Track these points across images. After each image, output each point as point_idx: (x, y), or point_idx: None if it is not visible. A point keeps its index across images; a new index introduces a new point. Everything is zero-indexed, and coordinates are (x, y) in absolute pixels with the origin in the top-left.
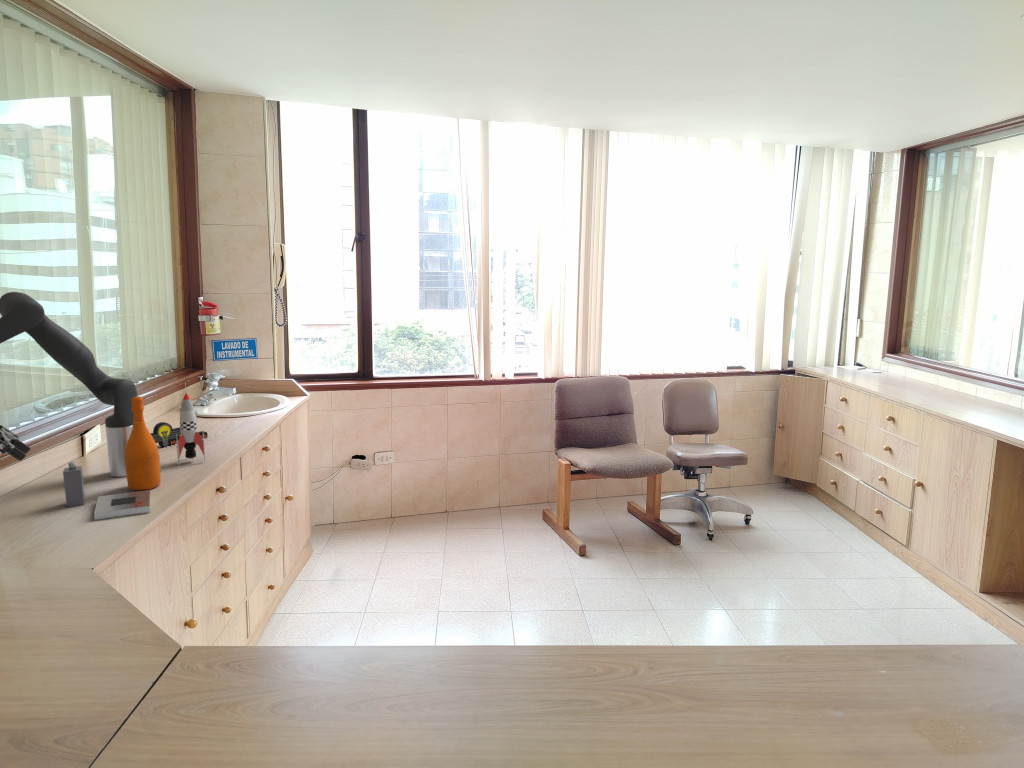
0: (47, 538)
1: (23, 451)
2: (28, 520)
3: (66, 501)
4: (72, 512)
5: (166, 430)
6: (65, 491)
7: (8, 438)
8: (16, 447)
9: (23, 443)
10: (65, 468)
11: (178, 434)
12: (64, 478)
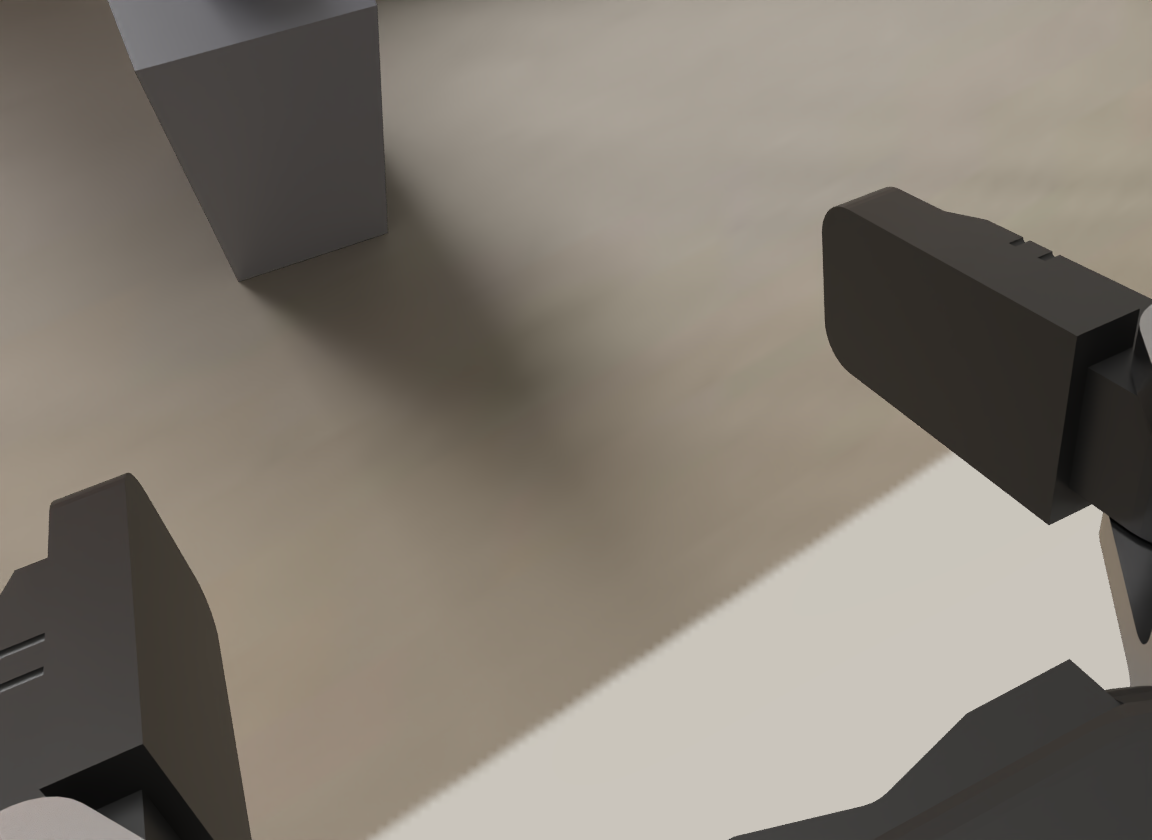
0: (1102, 55)
1: (204, 635)
2: (739, 405)
3: (386, 206)
4: (544, 117)
5: None
6: (382, 153)
7: (832, 825)
8: (241, 809)
9: (87, 639)
10: (173, 46)
11: None
12: (378, 57)
